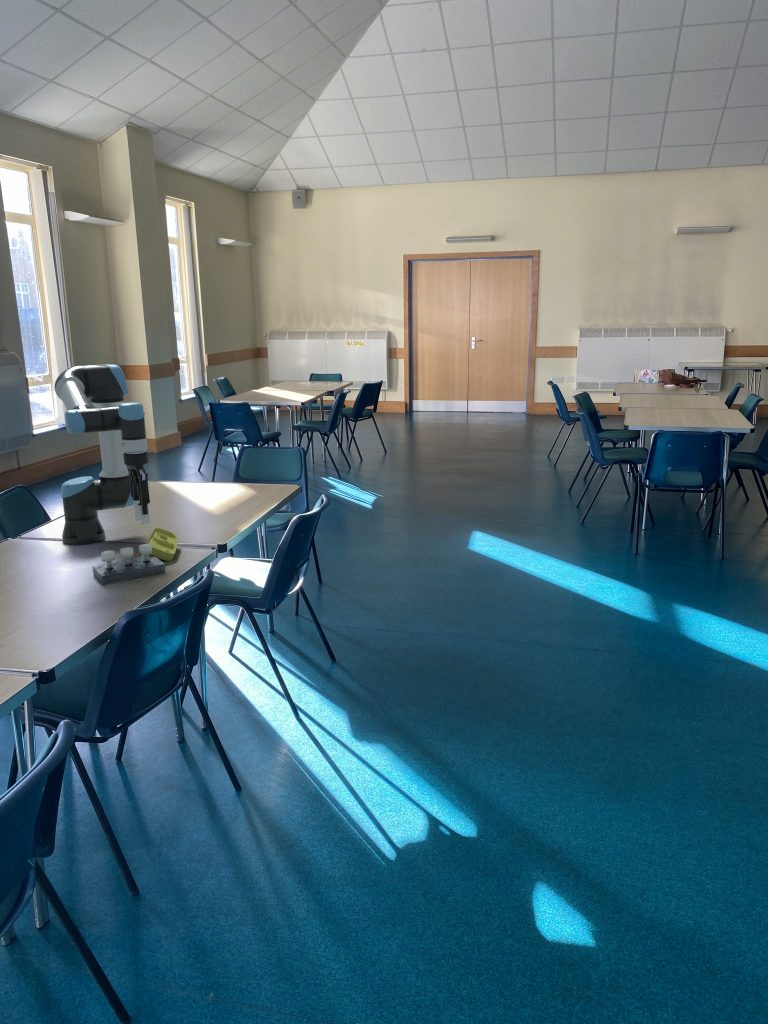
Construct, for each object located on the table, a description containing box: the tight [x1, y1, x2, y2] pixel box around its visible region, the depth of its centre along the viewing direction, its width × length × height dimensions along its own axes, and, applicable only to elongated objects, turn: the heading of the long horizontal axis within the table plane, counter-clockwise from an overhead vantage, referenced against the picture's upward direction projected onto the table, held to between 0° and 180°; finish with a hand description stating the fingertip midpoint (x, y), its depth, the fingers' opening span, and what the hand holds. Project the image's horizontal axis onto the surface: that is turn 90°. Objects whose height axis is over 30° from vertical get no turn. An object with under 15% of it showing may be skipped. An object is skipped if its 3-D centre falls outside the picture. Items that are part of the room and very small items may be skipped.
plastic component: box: [140, 526, 179, 562], centre depth 267 cm, size 20×7×10 cm
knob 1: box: [100, 550, 116, 569], centre depth 243 cm, size 4×4×5 cm
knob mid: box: [119, 546, 135, 565], centre depth 246 cm, size 4×4×5 cm
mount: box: [92, 555, 166, 586], centre depth 247 cm, size 12×20×3 cm, turn 124°
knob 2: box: [138, 543, 152, 562], centre depth 249 cm, size 4×4×5 cm
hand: (142, 521), depth 246 cm, fingers open, 5 cm apart
